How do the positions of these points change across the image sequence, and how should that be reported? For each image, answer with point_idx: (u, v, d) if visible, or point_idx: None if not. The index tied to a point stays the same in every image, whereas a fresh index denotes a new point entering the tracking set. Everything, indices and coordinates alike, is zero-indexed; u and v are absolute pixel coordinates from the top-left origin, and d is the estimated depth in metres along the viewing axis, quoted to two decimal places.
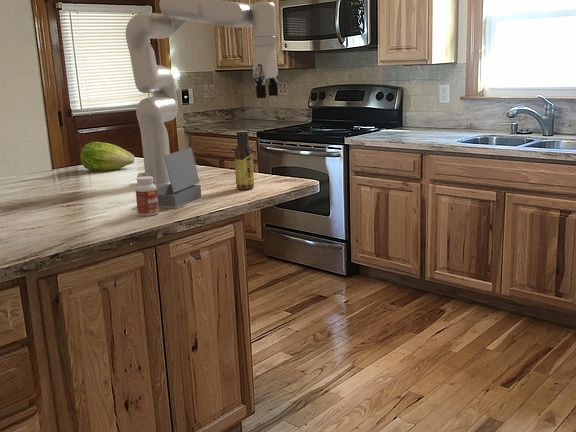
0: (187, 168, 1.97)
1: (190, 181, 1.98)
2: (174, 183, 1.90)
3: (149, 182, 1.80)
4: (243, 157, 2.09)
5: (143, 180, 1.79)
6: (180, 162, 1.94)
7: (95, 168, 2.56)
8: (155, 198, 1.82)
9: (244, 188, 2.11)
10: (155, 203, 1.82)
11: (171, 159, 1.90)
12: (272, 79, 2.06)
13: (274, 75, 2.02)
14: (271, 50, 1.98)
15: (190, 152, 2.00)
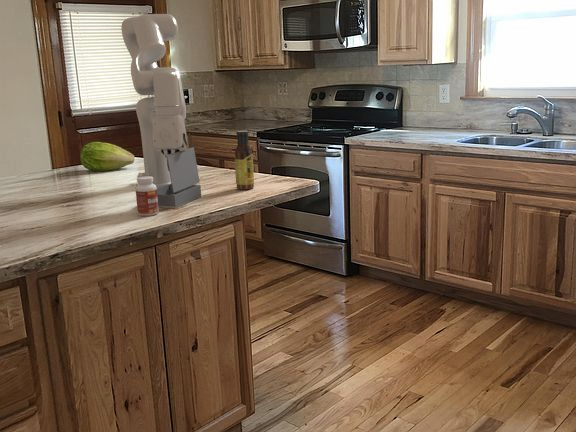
0: (188, 168, 1.97)
1: (190, 181, 1.98)
2: (175, 183, 1.90)
3: (149, 182, 1.80)
4: (243, 157, 2.09)
5: (143, 180, 1.79)
6: (182, 162, 1.94)
7: (95, 168, 2.56)
8: (155, 198, 1.82)
9: (244, 188, 2.11)
10: (155, 203, 1.82)
11: (173, 159, 1.89)
12: None
13: None
14: None
15: (192, 152, 2.00)
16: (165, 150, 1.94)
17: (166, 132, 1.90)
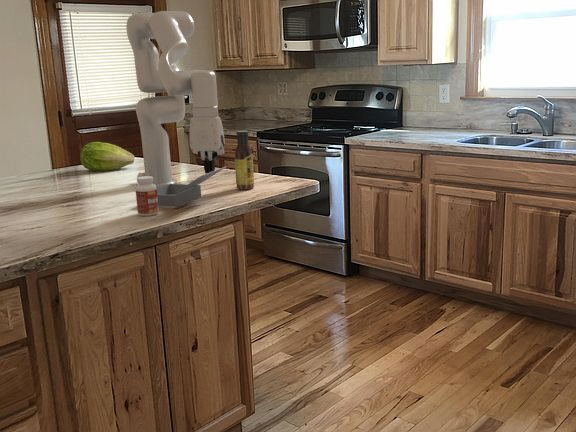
0: (205, 178, 1.96)
1: (195, 184, 1.98)
2: (183, 189, 1.89)
3: (149, 182, 1.80)
4: (243, 157, 2.09)
5: (143, 180, 1.79)
6: (206, 176, 1.92)
7: (95, 168, 2.56)
8: (155, 198, 1.82)
9: (244, 188, 2.11)
10: (155, 203, 1.82)
11: (203, 177, 1.87)
12: None
13: None
14: None
15: (221, 169, 1.97)
16: (202, 152, 1.89)
17: (204, 134, 1.86)
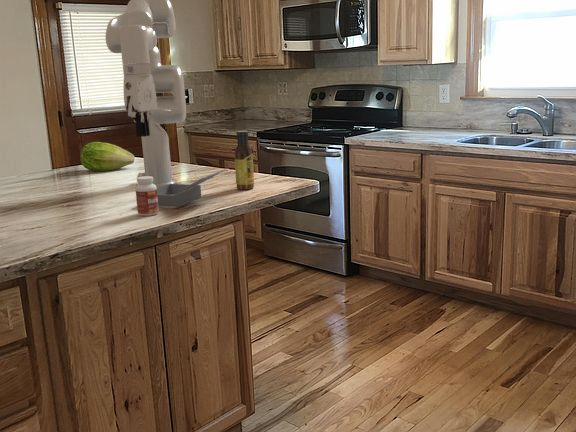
0: (205, 179, 1.96)
1: (195, 185, 1.98)
2: (183, 189, 1.89)
3: (149, 182, 1.80)
4: (243, 157, 2.09)
5: (143, 180, 1.79)
6: (206, 178, 1.92)
7: (95, 168, 2.56)
8: (155, 198, 1.82)
9: (244, 188, 2.11)
10: (155, 203, 1.82)
11: (204, 179, 1.87)
12: None
13: None
14: None
15: (222, 171, 1.97)
16: (142, 113, 1.75)
17: (148, 92, 1.75)
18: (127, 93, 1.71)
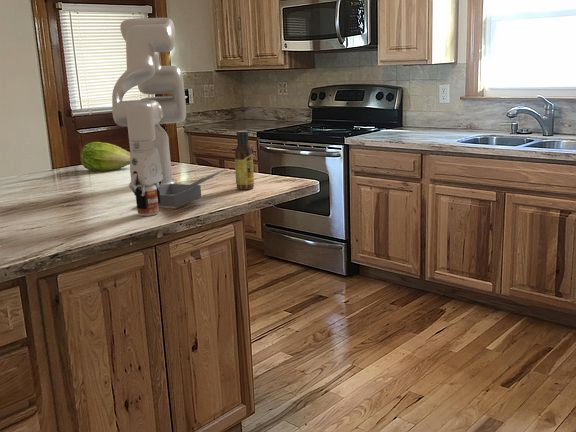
0: (205, 179, 1.96)
1: (195, 185, 1.98)
2: (183, 189, 1.89)
3: None
4: (243, 157, 2.09)
5: None
6: (206, 178, 1.92)
7: (95, 168, 2.56)
8: (155, 198, 1.82)
9: (244, 188, 2.11)
10: (155, 203, 1.82)
11: (204, 179, 1.87)
12: None
13: None
14: None
15: (222, 171, 1.97)
16: (144, 187, 1.79)
17: (154, 166, 1.80)
18: (133, 169, 1.76)
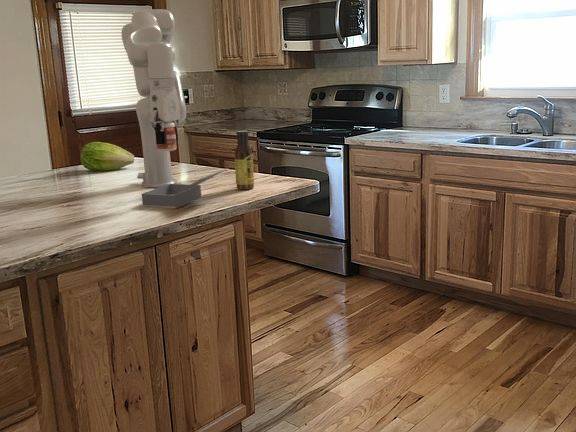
0: (205, 179, 1.96)
1: (195, 185, 1.98)
2: (183, 189, 1.89)
3: None
4: (243, 157, 2.09)
5: None
6: (206, 178, 1.92)
7: (95, 168, 2.56)
8: (173, 134, 1.93)
9: (244, 188, 2.11)
10: (173, 139, 1.93)
11: (204, 179, 1.87)
12: None
13: None
14: None
15: (222, 171, 1.97)
16: (163, 123, 1.89)
17: (172, 103, 1.91)
18: (153, 105, 1.87)
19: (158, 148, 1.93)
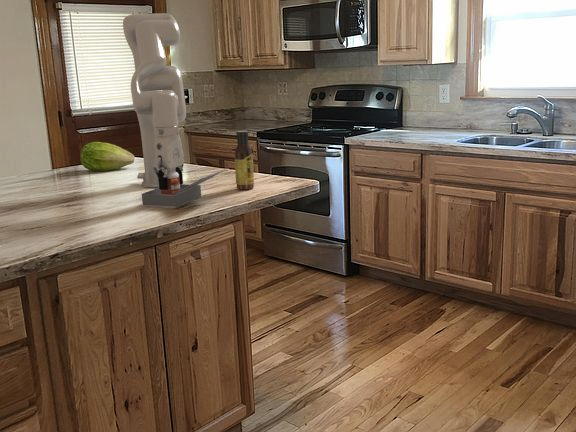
0: (205, 179, 1.96)
1: (195, 185, 1.98)
2: (183, 189, 1.89)
3: (172, 170, 1.95)
4: (243, 157, 2.09)
5: None
6: (206, 178, 1.92)
7: (95, 168, 2.56)
8: (178, 185, 1.97)
9: (244, 188, 2.11)
10: (178, 189, 1.97)
11: (204, 179, 1.87)
12: None
13: None
14: None
15: (222, 171, 1.97)
16: (166, 170, 1.93)
17: (176, 150, 1.95)
18: (158, 153, 1.91)
19: None
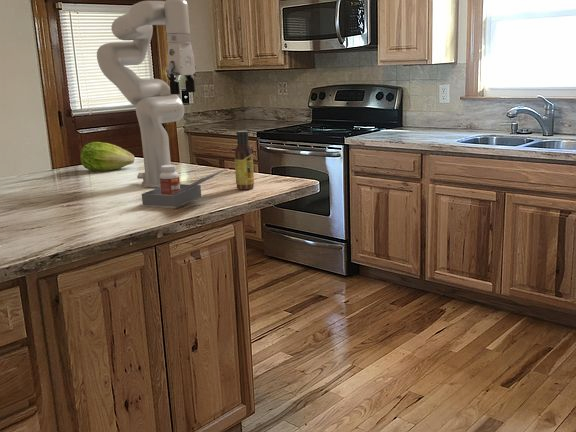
0: (205, 179, 1.96)
1: (195, 185, 1.98)
2: (183, 189, 1.89)
3: (172, 170, 1.95)
4: (243, 157, 2.09)
5: (167, 168, 1.95)
6: (206, 178, 1.92)
7: (95, 168, 2.56)
8: (178, 185, 1.97)
9: (244, 188, 2.11)
10: (178, 189, 1.97)
11: (204, 179, 1.87)
12: None
13: None
14: None
15: (222, 171, 1.97)
16: (178, 75, 1.99)
17: (188, 58, 2.02)
18: (171, 59, 1.98)
19: None
